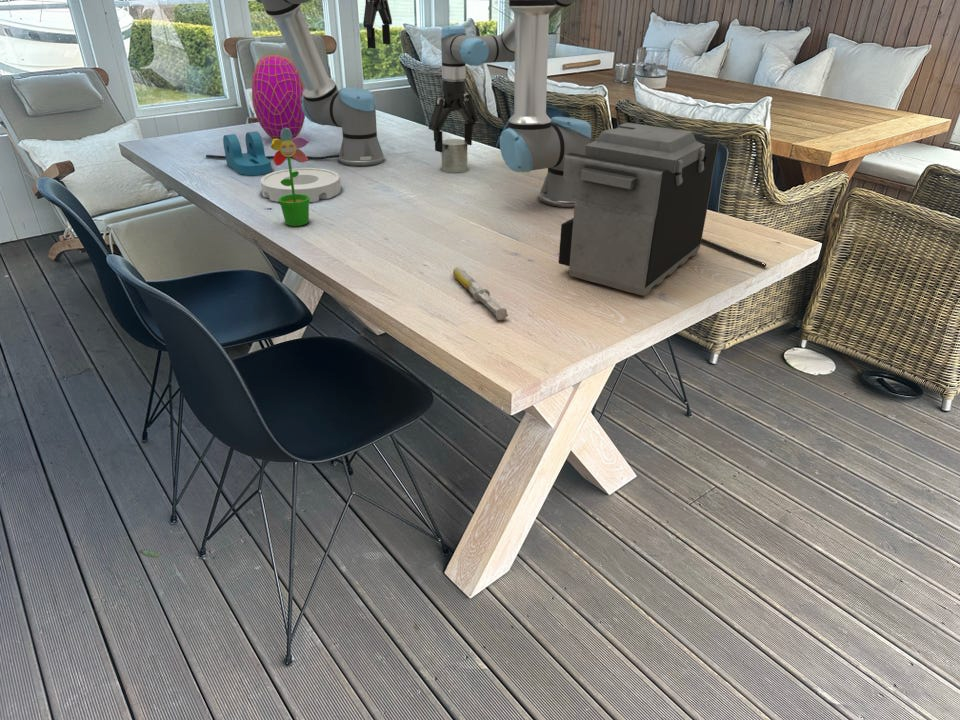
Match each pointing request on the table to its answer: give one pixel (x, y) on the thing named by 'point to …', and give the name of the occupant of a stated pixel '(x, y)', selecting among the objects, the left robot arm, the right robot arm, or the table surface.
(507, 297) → the table surface
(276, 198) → the white notched ring base
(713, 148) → the grey cooler box
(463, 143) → the can
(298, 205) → the potted flower
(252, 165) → the camera mount
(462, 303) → the table surface
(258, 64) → the decorative egg
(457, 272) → the syringe
